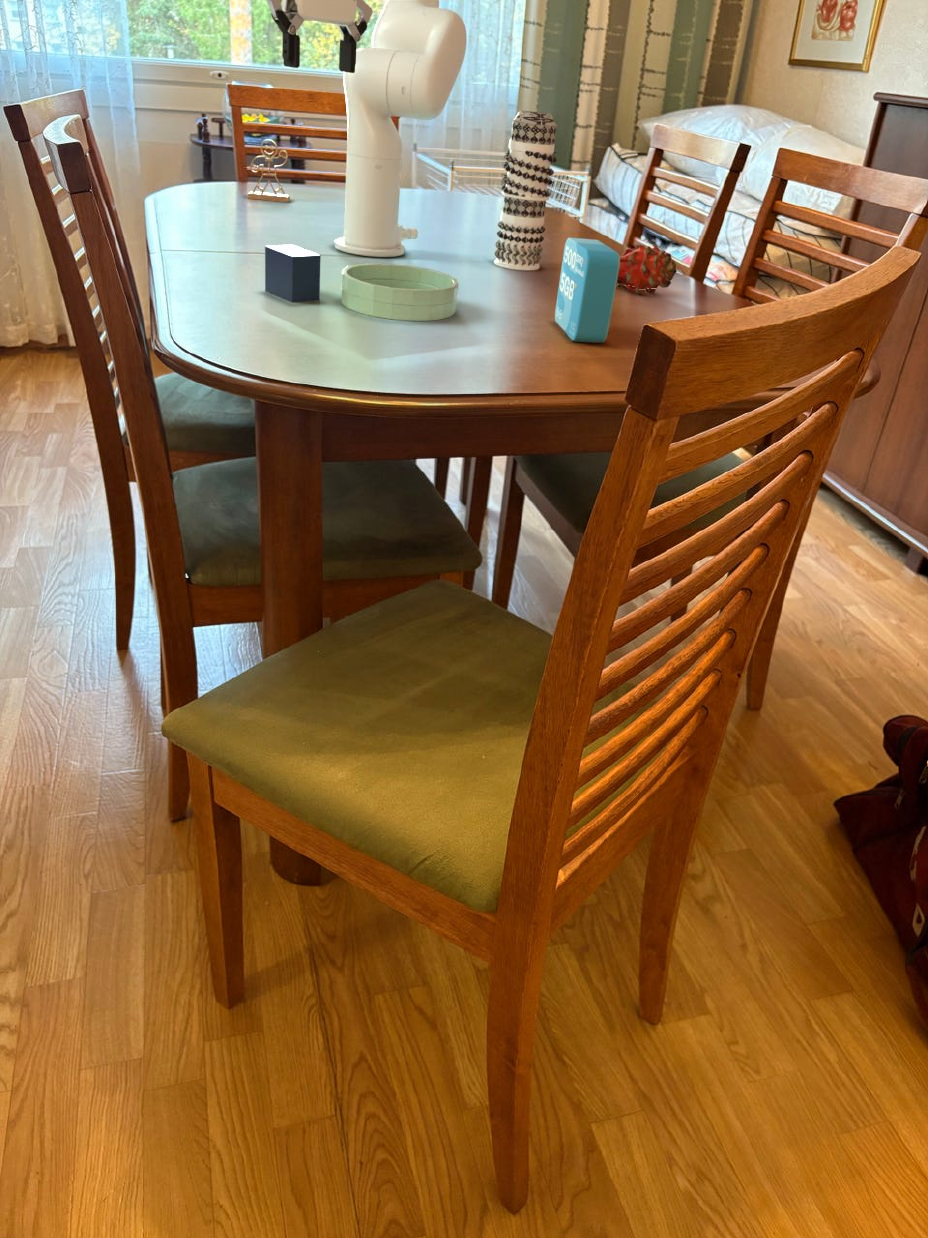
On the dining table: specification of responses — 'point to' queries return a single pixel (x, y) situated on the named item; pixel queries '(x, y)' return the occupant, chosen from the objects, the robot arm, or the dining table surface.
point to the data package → (586, 289)
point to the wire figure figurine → (269, 195)
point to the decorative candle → (525, 190)
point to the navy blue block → (292, 273)
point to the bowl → (399, 292)
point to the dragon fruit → (645, 269)
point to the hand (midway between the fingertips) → (319, 69)
